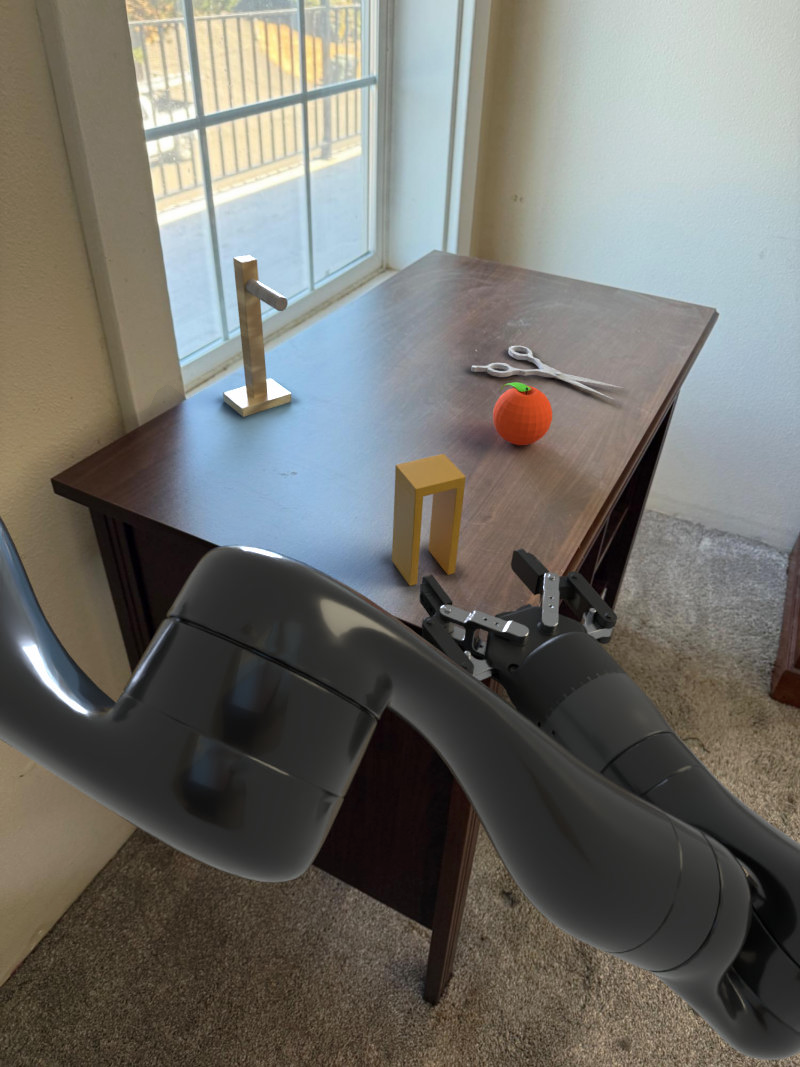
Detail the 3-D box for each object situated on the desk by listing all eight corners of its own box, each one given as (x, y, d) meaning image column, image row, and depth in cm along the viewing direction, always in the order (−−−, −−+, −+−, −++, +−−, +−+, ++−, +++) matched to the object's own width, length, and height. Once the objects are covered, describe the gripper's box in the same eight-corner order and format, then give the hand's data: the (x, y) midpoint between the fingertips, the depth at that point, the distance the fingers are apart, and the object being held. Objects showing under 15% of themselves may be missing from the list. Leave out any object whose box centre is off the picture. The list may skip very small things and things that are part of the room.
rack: (264, 434, 89) (251, 285, 77) (223, 401, 95) (206, 257, 83) (313, 417, 92) (307, 272, 81) (271, 386, 98) (260, 247, 87)
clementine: (472, 431, 91) (478, 378, 87) (516, 417, 94) (524, 365, 90) (515, 462, 86) (523, 407, 82) (559, 446, 89) (570, 393, 85)
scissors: (505, 340, 110) (635, 377, 102) (504, 345, 111) (634, 382, 103) (471, 366, 103) (608, 407, 95) (470, 371, 104) (607, 413, 96)
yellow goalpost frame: (409, 586, 69) (415, 489, 62) (391, 560, 72) (395, 464, 65) (455, 573, 70) (466, 476, 64) (435, 548, 73) (444, 453, 66)
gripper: (686, 647, 50) (550, 513, 62) (508, 716, 45) (395, 556, 57) (658, 716, 55) (536, 580, 66) (493, 786, 50) (391, 626, 61)
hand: (471, 569), depth 61 cm, fingers open, 8 cm apart
